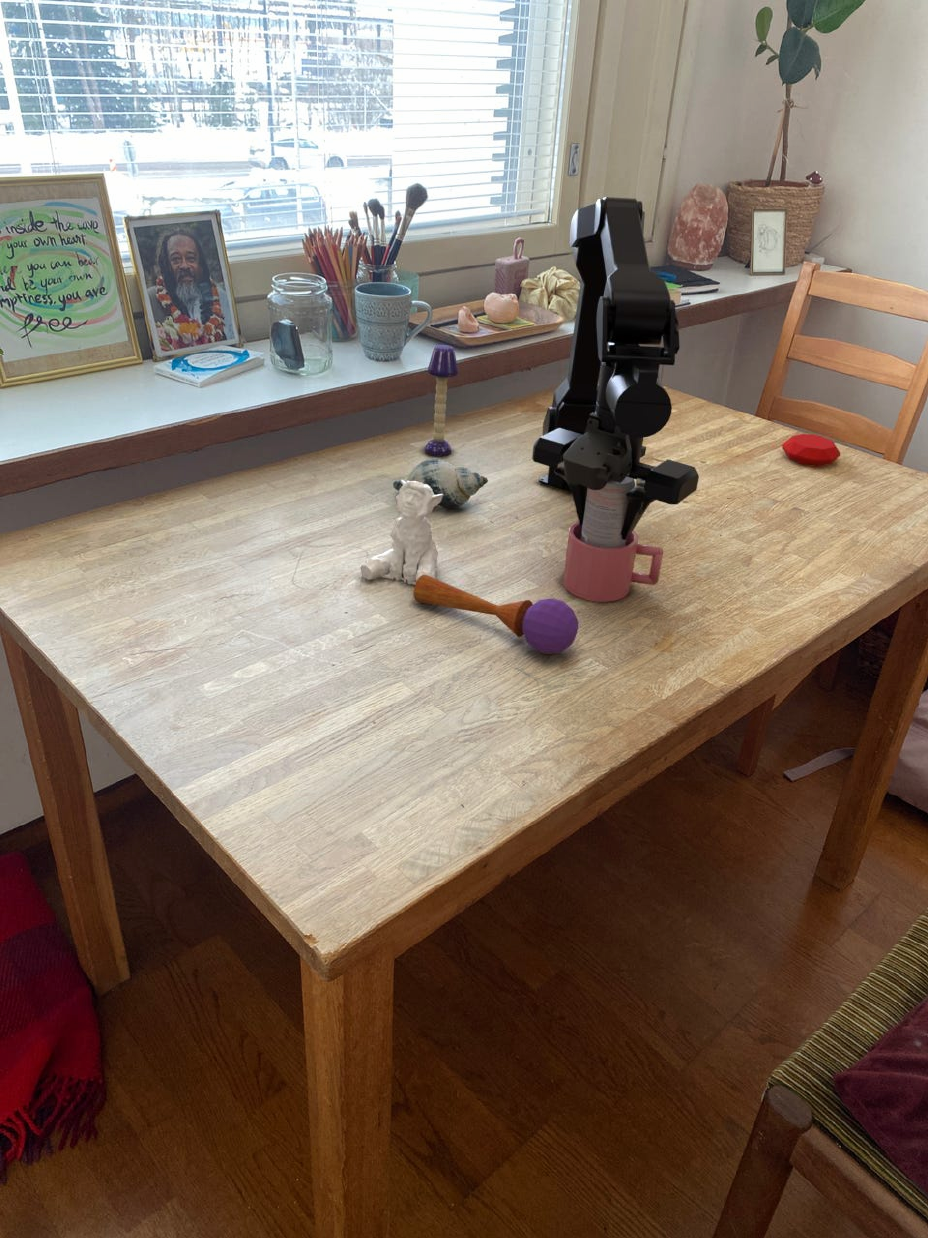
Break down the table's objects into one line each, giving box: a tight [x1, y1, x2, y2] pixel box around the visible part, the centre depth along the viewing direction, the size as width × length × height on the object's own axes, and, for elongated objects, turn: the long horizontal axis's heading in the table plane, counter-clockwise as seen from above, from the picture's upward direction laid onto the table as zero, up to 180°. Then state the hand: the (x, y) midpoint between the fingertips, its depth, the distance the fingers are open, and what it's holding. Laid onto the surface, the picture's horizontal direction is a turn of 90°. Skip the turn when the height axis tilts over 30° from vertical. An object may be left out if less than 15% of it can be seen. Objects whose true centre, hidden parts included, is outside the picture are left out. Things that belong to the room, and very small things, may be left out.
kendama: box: [413, 575, 579, 655], centre depth 105 cm, size 6×6×20 cm
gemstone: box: [781, 433, 841, 468], centre depth 156 cm, size 9×9×3 cm
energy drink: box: [580, 476, 636, 548], centre depth 111 cm, size 5×5×12 cm
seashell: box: [392, 457, 489, 509], centre depth 132 cm, size 6×8×12 cm
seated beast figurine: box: [360, 480, 444, 586], centre depth 113 cm, size 10×9×12 cm
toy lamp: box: [424, 344, 459, 457], centre depth 146 cm, size 5×5×17 cm
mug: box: [562, 521, 665, 603], centre depth 114 cm, size 11×8×7 cm
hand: (603, 531), depth 112 cm, fingers closed on energy drink, 5 cm apart
